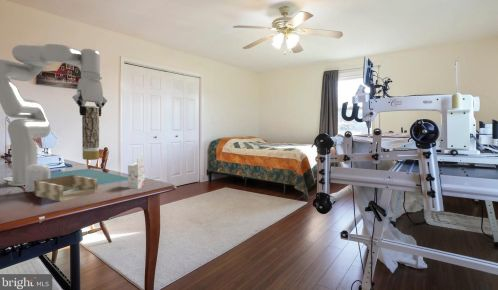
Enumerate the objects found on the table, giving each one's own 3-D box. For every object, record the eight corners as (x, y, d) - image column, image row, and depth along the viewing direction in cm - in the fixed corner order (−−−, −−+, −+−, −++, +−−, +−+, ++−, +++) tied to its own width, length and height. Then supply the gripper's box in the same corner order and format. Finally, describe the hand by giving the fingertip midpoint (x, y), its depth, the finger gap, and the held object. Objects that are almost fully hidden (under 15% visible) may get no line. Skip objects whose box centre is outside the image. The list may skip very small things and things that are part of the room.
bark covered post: (91, 160, 120) (90, 106, 118) (78, 159, 121) (78, 105, 119) (102, 158, 126) (102, 107, 125) (90, 157, 128) (90, 106, 126)
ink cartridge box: (135, 185, 133) (135, 156, 132) (144, 185, 133) (145, 157, 132) (127, 189, 125) (127, 158, 124) (137, 189, 125) (137, 159, 124)
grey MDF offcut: (61, 198, 104) (61, 194, 104) (84, 192, 113) (84, 188, 113) (66, 199, 103) (66, 195, 103) (89, 193, 112) (89, 189, 112)
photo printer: (52, 191, 116) (52, 164, 115) (43, 194, 111) (43, 165, 110) (33, 190, 117) (32, 162, 116) (23, 192, 113) (22, 164, 112)
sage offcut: (58, 200, 104) (55, 201, 104) (79, 194, 113) (76, 194, 114) (56, 193, 104) (53, 193, 104) (78, 187, 113) (75, 188, 114)
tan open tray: (34, 198, 106) (34, 181, 105) (73, 189, 120) (72, 174, 119) (60, 204, 99) (59, 186, 99) (97, 194, 114) (97, 179, 113)
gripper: (102, 80, 130) (102, 116, 132) (65, 74, 115) (66, 114, 116) (112, 80, 127) (112, 116, 129) (76, 73, 112) (77, 115, 113)
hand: (90, 115), depth 122 cm, fingers closed on bark covered post, 6 cm apart
